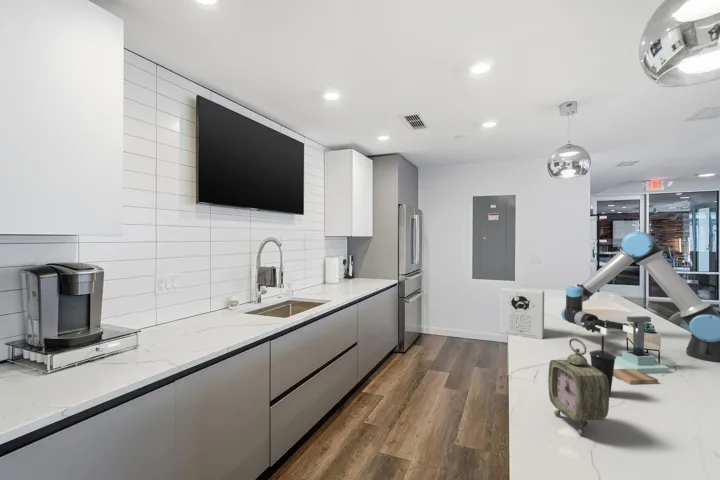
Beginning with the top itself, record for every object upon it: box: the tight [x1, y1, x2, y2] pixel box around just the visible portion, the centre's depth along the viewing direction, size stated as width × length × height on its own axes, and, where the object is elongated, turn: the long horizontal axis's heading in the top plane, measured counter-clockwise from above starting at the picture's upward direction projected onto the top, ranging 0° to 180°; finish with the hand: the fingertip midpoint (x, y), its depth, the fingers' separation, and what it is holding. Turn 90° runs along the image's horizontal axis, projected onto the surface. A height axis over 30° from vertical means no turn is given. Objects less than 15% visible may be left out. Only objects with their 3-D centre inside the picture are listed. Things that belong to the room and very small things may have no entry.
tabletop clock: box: [547, 337, 610, 437], centre depth 104 cm, size 14×9×25 cm, turn 4°
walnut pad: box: [613, 368, 659, 385], centre depth 139 cm, size 11×11×2 cm
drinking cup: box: [589, 335, 617, 397], centre depth 125 cm, size 8×8×20 cm
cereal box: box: [499, 287, 545, 340], centre depth 200 cm, size 22×8×25 cm, turn 58°
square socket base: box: [614, 350, 670, 374], centre depth 151 cm, size 14×14×6 cm
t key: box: [626, 315, 652, 356], centre depth 151 cm, size 9×5×19 cm, turn 95°
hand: (621, 331), depth 160 cm, fingers open, 13 cm apart
